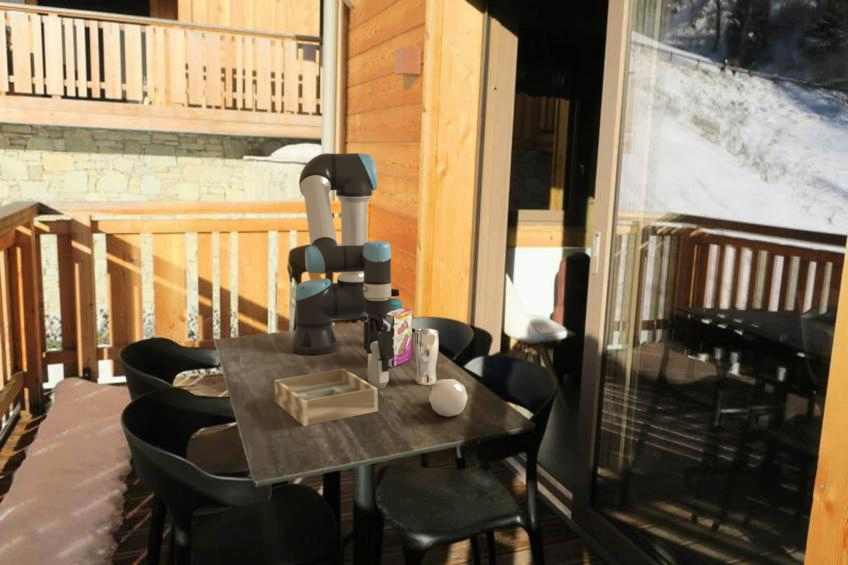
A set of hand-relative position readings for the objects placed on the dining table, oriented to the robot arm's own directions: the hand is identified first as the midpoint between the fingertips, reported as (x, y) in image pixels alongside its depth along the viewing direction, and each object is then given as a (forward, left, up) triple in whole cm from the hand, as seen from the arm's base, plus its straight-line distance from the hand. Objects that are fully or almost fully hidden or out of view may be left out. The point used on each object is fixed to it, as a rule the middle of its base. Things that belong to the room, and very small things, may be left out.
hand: (378, 378), depth 199 cm
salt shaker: (0, 0, -3) cm, 3 cm away
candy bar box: (-18, +16, -3) cm, 24 cm away
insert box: (+7, -19, -2) cm, 20 cm away
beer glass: (+3, +14, -3) cm, 15 cm away
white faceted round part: (+26, +6, -3) cm, 27 cm away
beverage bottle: (-35, +24, -3) cm, 43 cm away
